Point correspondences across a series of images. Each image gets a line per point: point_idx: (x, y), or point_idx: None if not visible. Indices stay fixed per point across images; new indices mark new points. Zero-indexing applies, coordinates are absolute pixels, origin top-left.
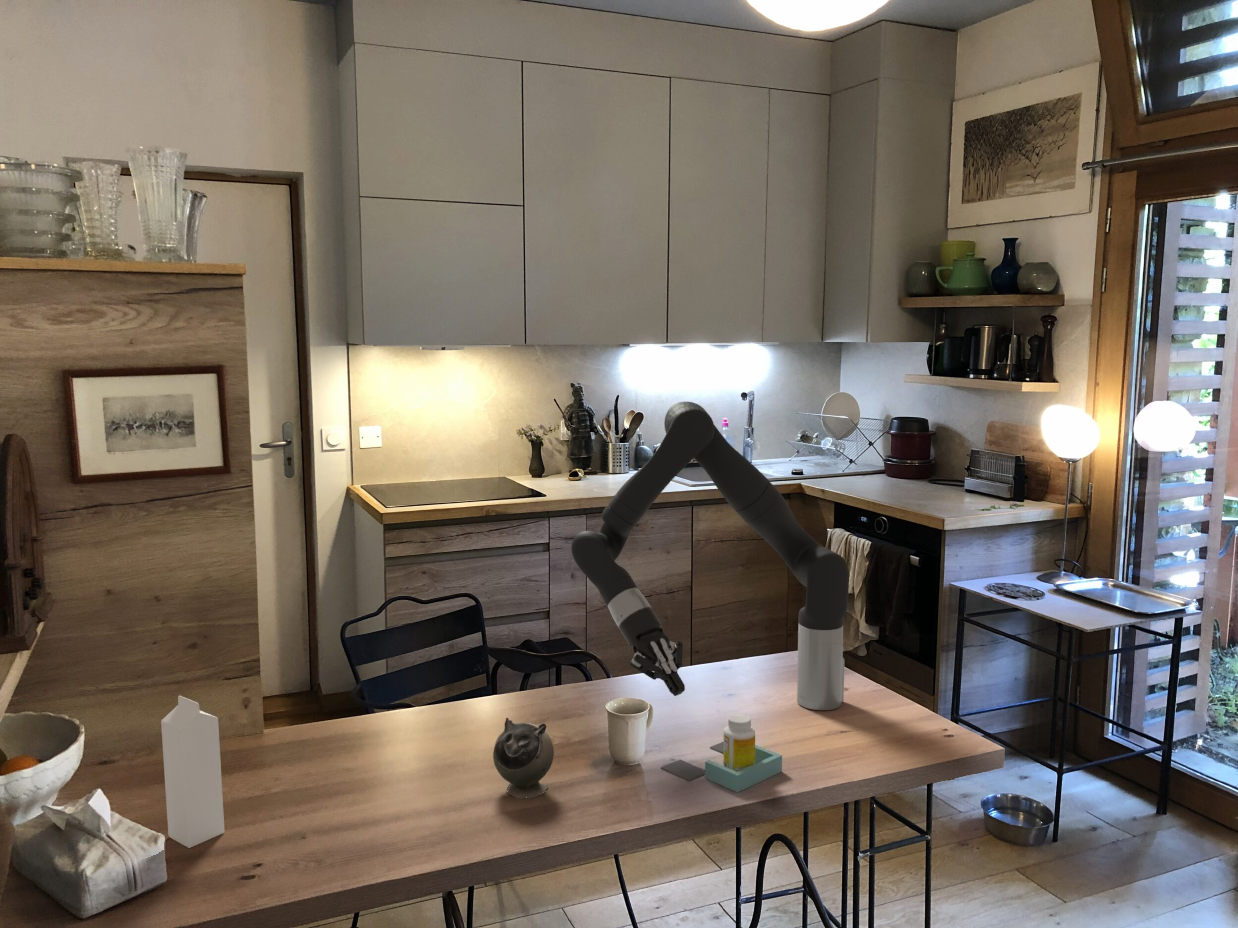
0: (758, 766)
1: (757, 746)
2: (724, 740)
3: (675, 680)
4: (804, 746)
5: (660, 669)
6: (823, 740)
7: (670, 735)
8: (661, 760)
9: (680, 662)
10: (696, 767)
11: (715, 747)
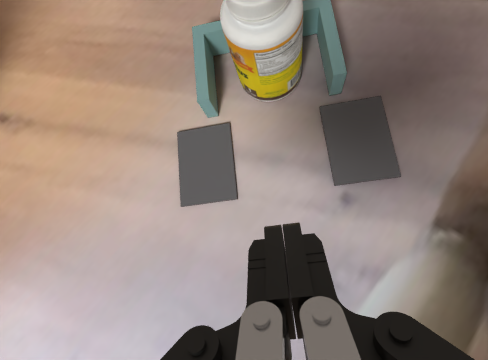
0: None
1: (198, 79)
2: (300, 33)
3: (296, 260)
4: (95, 106)
5: (395, 333)
6: (53, 108)
7: None
8: (373, 210)
9: (181, 354)
10: (328, 134)
11: (229, 189)
